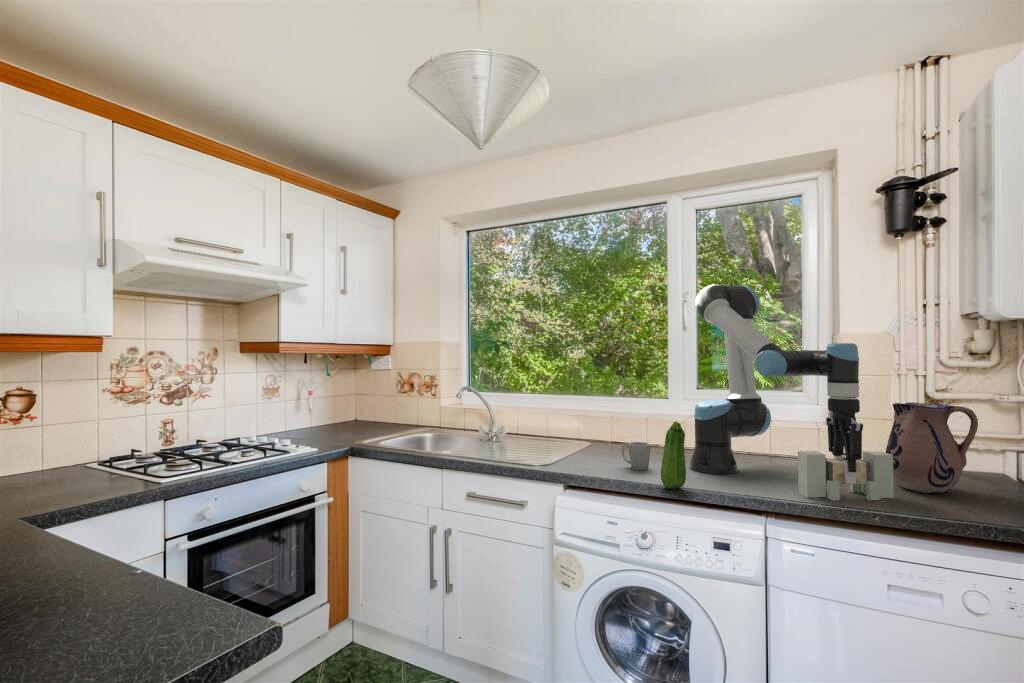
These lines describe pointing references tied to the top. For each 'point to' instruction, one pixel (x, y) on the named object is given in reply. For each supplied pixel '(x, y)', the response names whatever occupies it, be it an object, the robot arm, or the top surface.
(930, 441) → the ceramic pitcher
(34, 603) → the top surface
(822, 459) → the pale green stepped block
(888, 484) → the pale green fixture block
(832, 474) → the wooden block
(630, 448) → the cup
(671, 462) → the vegetable
